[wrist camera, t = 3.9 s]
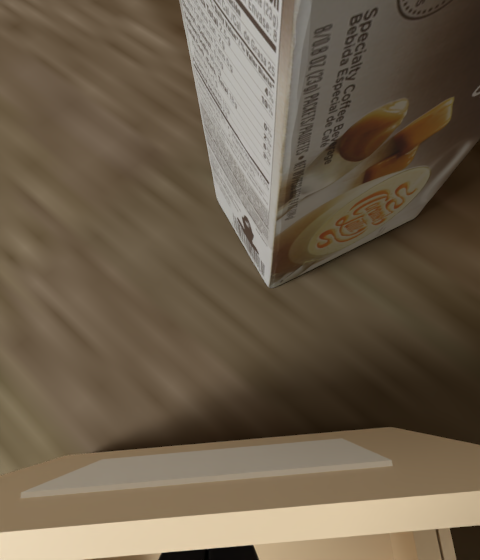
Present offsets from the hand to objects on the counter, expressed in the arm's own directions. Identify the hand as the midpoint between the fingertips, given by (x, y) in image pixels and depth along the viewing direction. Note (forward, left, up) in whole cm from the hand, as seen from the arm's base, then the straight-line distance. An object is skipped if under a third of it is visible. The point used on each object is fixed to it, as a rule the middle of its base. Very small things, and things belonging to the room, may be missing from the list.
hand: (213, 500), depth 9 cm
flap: (0, 0, -2) cm, 2 cm away
